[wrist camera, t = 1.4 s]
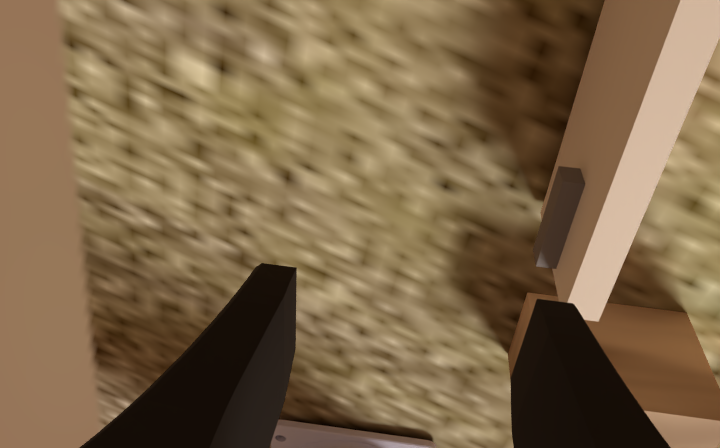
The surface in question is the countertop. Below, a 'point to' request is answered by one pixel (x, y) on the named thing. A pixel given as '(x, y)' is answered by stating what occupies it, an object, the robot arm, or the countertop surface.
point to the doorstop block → (653, 368)
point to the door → (620, 139)
